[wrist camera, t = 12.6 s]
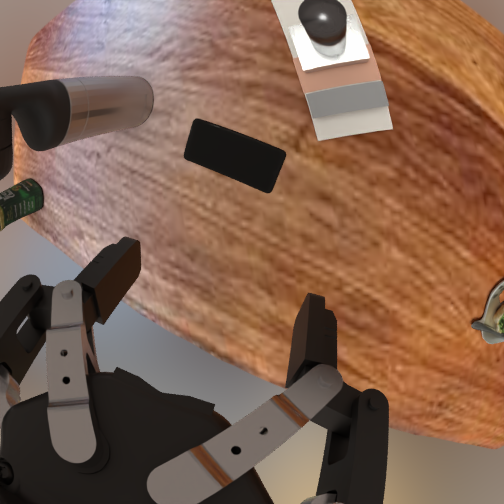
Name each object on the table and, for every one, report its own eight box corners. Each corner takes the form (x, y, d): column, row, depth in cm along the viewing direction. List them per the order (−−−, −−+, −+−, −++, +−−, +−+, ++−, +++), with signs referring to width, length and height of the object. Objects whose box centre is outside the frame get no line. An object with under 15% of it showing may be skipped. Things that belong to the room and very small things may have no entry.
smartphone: (193, 117, 39) (287, 152, 38) (196, 117, 39) (288, 151, 38) (182, 158, 42) (269, 195, 41) (184, 157, 43) (271, 193, 42)
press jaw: (292, 33, 28) (265, -2, 17) (352, 21, 24) (355, -20, 14) (306, 73, 30) (287, 54, 19) (367, 62, 27) (380, 36, 16)
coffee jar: (44, 186, 57) (-13, 215, 41) (44, 212, 61) (-8, 243, 45) (27, 173, 57) (-26, 198, 41) (27, 197, 61) (-22, 224, 46)
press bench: (263, -19, 26) (250, -36, 21) (332, -35, 22) (329, -54, 17) (318, 139, 36) (314, 144, 31) (391, 127, 32) (399, 130, 27)
